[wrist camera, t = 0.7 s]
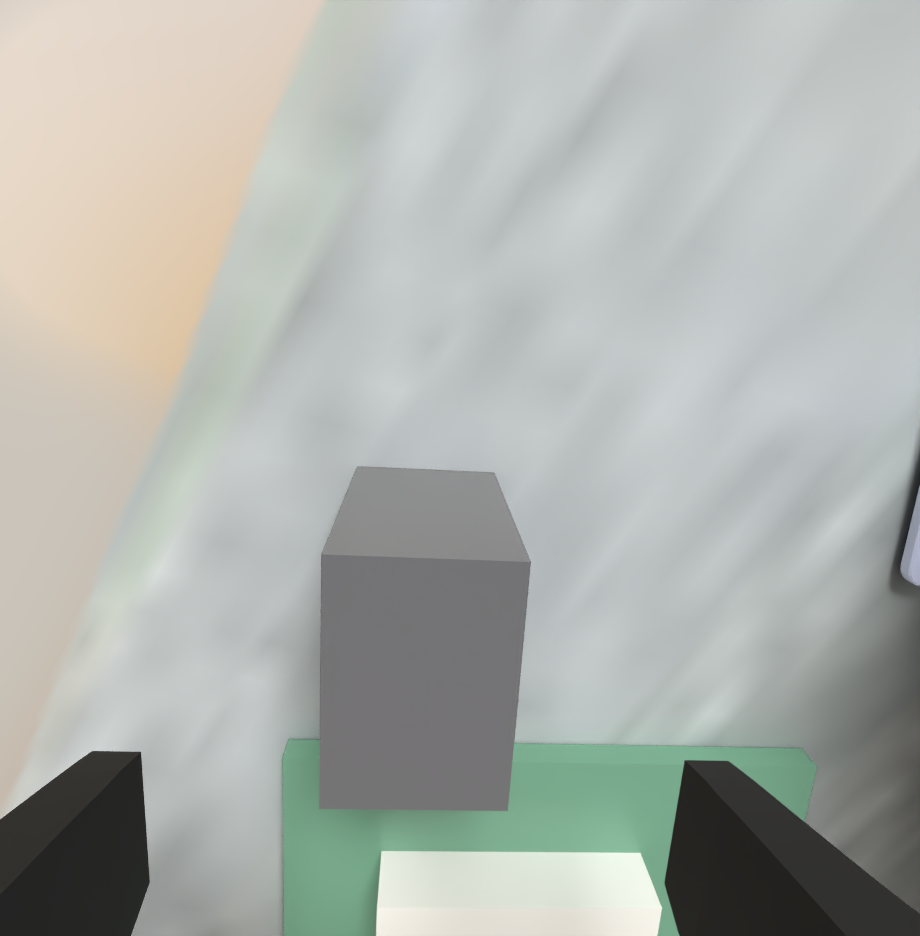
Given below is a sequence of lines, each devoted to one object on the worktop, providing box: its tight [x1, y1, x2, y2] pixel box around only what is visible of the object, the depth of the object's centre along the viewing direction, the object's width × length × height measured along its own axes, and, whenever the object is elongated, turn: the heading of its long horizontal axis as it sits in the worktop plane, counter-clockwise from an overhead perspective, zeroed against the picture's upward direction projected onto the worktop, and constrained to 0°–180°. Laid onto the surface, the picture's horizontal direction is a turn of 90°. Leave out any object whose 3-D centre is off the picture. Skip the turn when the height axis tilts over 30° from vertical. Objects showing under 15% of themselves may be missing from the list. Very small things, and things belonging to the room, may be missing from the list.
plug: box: [319, 466, 531, 811], centre depth 15 cm, size 4×6×6 cm, turn 177°
